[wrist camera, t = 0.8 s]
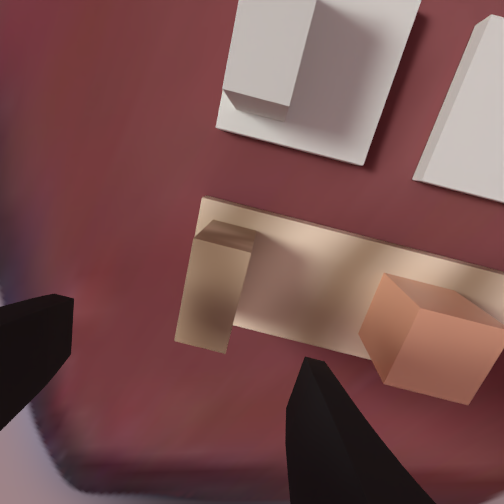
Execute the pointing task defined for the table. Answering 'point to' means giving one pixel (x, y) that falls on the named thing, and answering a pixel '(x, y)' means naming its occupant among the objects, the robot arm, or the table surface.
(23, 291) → the table surface
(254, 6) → the white block
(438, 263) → the birch strip
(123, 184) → the table surface
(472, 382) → the terracotta cube
